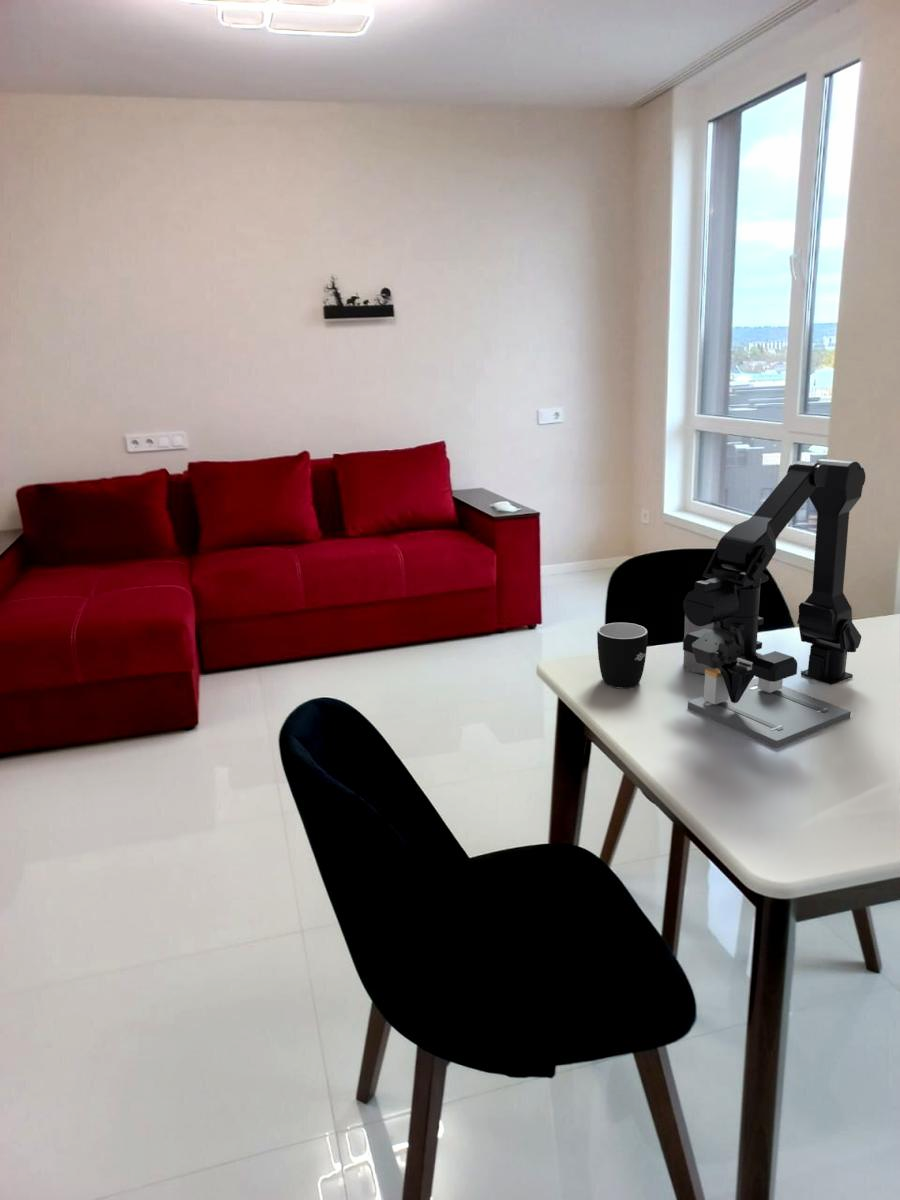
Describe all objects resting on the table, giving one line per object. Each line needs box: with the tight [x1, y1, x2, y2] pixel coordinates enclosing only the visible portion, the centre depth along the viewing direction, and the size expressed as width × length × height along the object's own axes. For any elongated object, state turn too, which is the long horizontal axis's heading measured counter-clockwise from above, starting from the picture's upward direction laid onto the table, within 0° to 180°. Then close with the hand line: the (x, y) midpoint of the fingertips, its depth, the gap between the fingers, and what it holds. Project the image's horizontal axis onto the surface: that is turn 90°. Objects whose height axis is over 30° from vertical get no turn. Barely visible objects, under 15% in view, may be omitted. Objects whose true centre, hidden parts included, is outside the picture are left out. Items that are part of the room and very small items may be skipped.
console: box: [687, 677, 852, 749], centre depth 136 cm, size 18×18×1 cm
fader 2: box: [758, 678, 784, 693], centre depth 141 cm, size 3×2×6 cm
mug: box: [596, 622, 649, 689], centre depth 151 cm, size 12×9×10 cm
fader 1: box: [703, 668, 729, 705], centre depth 137 cm, size 3×2×6 cm
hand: (734, 702), depth 134 cm, fingers closed
